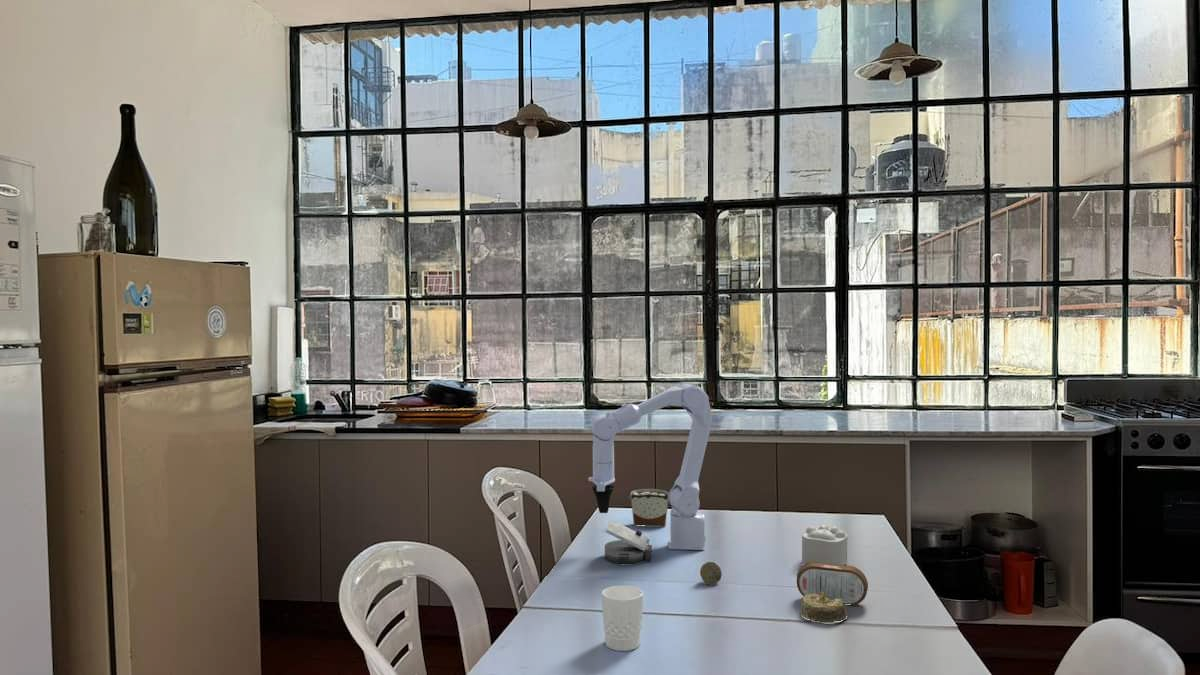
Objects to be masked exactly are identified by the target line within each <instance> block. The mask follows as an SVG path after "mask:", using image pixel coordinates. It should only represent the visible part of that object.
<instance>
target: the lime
mask: <svg viewBox="0 0 1200 675" xmlns="http://www.w3.org/2000/svg"><path fill="white" fill-rule="evenodd" d="M699 574H700V577H701V579H702V581H703V582H704V583H705V584H706V585H708V586H712V585H717V583H719V582H720V581H721V579H722V575H723V574H722V568H721V567H720V566H719V565H718V564H717V563H715V562H714V561H706V562H705V563H704V564H702V566H701V568H700V571H699Z"/></svg>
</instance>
